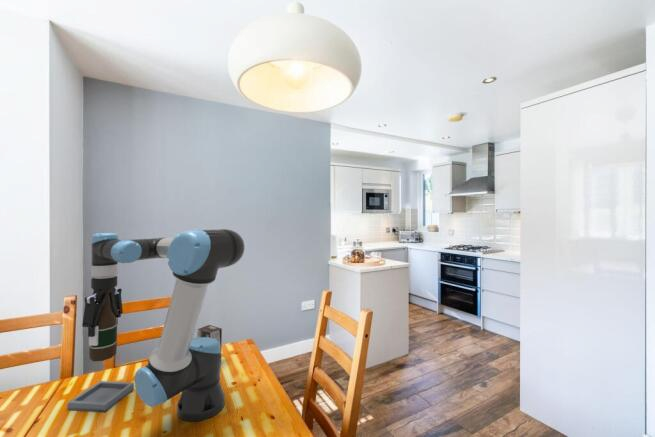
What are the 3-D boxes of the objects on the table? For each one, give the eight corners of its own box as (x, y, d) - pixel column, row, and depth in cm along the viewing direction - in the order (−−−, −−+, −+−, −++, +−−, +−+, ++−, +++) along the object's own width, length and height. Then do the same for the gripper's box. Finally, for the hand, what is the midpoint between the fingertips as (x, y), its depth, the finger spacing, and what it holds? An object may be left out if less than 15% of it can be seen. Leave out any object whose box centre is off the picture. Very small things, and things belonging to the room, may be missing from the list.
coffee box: (221, 364, 133) (222, 328, 133) (209, 370, 128) (210, 333, 128) (208, 359, 138) (209, 324, 138) (196, 364, 133) (197, 328, 133)
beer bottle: (101, 363, 102) (103, 293, 102) (83, 360, 104) (84, 291, 104) (121, 353, 110) (123, 288, 110) (104, 350, 112) (105, 286, 111)
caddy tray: (133, 389, 113) (133, 382, 113) (105, 412, 100) (105, 404, 100) (100, 387, 114) (100, 380, 114) (67, 409, 101) (67, 402, 101)
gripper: (116, 271, 117) (115, 329, 117) (67, 282, 97) (66, 352, 97) (135, 271, 117) (133, 329, 117) (89, 282, 96) (88, 353, 96)
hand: (103, 340), depth 107 cm, fingers closed on beer bottle, 8 cm apart
